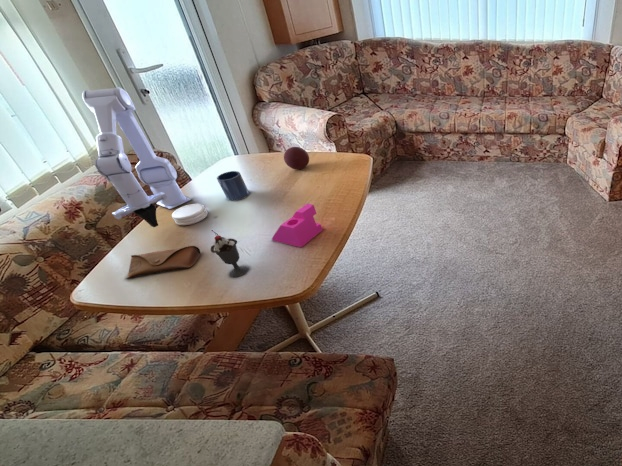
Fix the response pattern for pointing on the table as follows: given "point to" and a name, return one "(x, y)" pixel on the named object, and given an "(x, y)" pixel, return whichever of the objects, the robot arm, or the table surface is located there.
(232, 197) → the cup
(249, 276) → the table surface
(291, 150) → the decorative ball
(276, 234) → the bracket
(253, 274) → the table surface
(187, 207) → the white round dish
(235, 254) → the sundae
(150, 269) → the sunglasses case
